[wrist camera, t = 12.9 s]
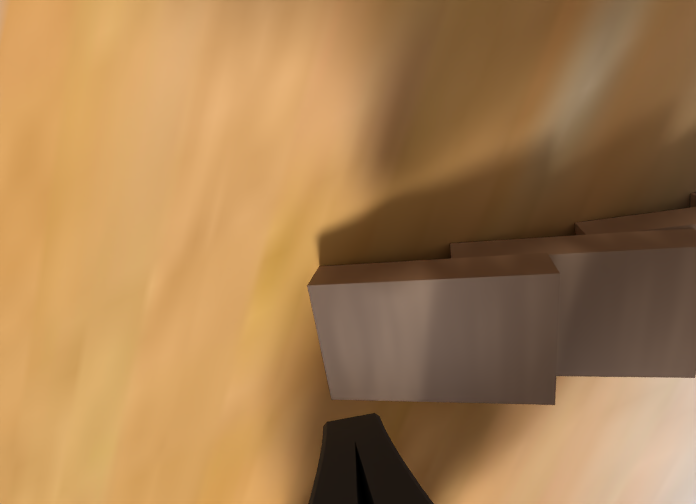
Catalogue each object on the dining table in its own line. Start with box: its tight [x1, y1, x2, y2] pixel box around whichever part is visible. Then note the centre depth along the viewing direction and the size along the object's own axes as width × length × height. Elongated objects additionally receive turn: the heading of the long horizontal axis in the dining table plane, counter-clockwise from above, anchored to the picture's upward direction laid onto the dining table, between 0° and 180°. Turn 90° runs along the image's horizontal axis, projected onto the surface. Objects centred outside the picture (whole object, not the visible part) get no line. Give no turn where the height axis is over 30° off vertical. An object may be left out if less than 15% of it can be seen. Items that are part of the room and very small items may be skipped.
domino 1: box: [307, 253, 560, 405], centre depth 15 cm, size 2×5×8 cm
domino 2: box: [450, 228, 696, 378], centre depth 15 cm, size 2×5×8 cm
